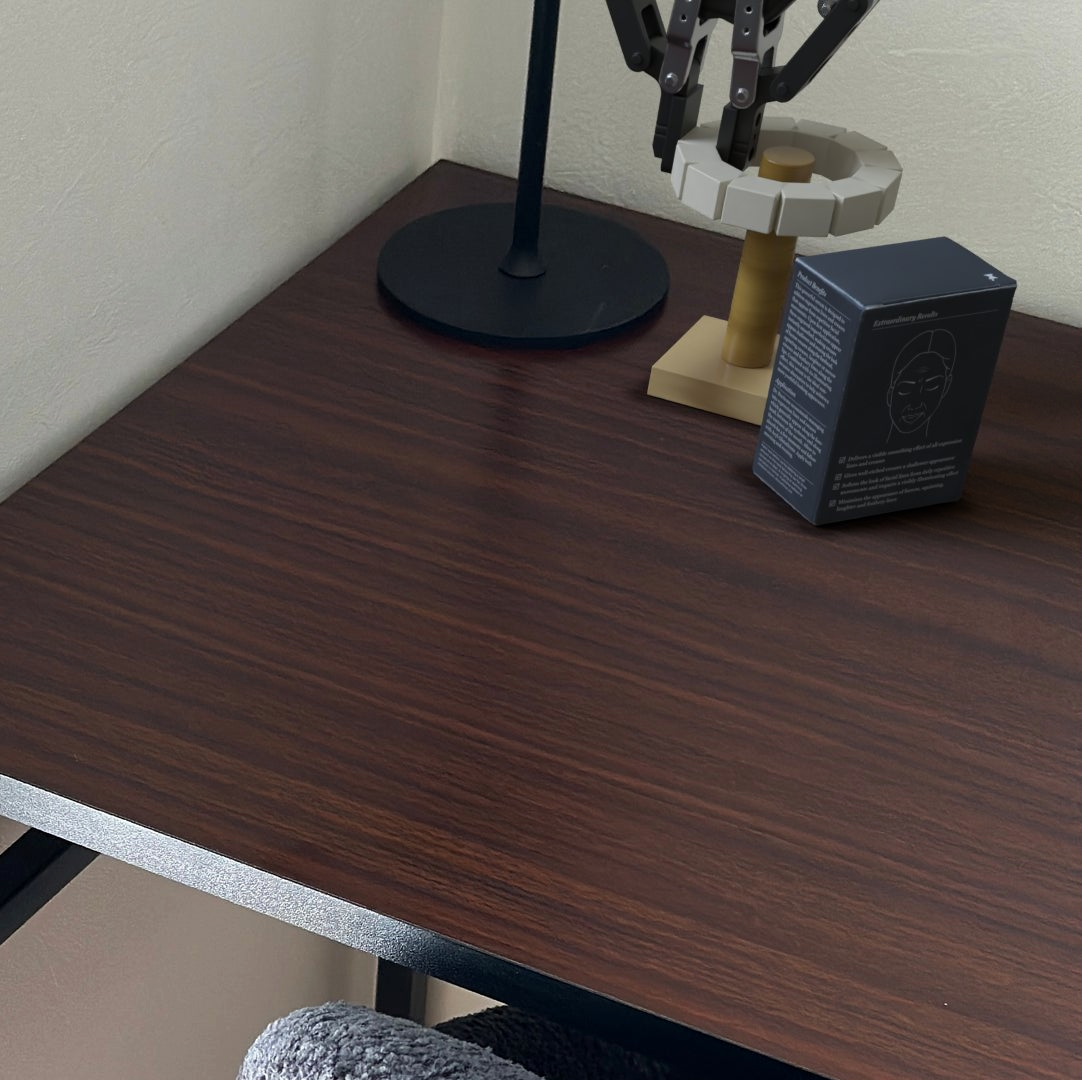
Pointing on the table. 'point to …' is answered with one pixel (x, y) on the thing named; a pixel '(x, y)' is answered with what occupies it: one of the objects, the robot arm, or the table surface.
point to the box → (881, 378)
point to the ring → (790, 208)
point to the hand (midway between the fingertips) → (698, 172)
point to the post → (739, 320)
